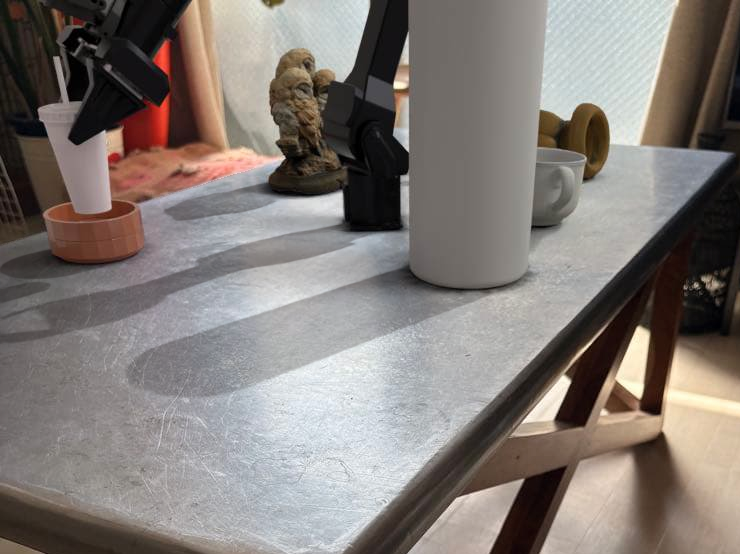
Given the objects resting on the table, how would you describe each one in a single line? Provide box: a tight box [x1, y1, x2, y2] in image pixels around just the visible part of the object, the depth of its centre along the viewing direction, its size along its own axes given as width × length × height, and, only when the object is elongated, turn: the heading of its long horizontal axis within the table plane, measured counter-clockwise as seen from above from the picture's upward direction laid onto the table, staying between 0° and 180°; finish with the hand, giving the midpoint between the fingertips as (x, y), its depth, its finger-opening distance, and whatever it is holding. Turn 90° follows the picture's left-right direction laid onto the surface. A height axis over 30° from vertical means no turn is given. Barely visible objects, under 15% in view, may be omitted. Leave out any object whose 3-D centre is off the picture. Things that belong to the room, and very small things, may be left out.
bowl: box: [42, 198, 147, 264], centre depth 98 cm, size 10×10×4 cm
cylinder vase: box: [408, 0, 549, 290], centre depth 86 cm, size 12×12×25 cm
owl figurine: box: [267, 47, 347, 195], centre depth 121 cm, size 18×12×17 cm, turn 165°
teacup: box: [531, 147, 587, 227], centre depth 106 cm, size 14×11×8 cm
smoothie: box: [37, 55, 112, 214], centre depth 87 cm, size 6×6×14 cm
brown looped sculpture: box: [537, 102, 611, 180], centre depth 127 cm, size 18×13×22 cm
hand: (63, 136), depth 86 cm, fingers closed on smoothie, 6 cm apart
